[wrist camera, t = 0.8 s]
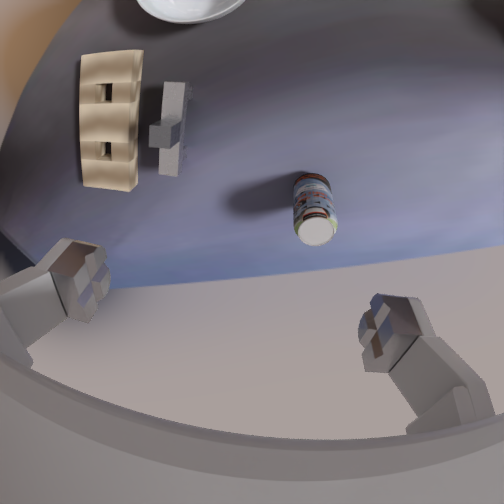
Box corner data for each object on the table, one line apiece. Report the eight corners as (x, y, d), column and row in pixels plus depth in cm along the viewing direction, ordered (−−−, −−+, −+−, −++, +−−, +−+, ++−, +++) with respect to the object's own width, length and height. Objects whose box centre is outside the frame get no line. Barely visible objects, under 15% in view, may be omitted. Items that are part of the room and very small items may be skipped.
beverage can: (329, 170, 44) (344, 202, 34) (328, 210, 48) (339, 251, 39) (291, 170, 45) (294, 202, 35) (291, 210, 49) (293, 251, 39)
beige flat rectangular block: (93, 54, 34) (81, 55, 31) (143, 50, 34) (133, 49, 31) (93, 178, 48) (83, 185, 45) (137, 183, 48) (129, 191, 45)
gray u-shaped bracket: (178, 79, 37) (152, 83, 29) (197, 80, 37) (175, 84, 29) (171, 161, 46) (148, 184, 37) (188, 163, 46) (168, 187, 37)
